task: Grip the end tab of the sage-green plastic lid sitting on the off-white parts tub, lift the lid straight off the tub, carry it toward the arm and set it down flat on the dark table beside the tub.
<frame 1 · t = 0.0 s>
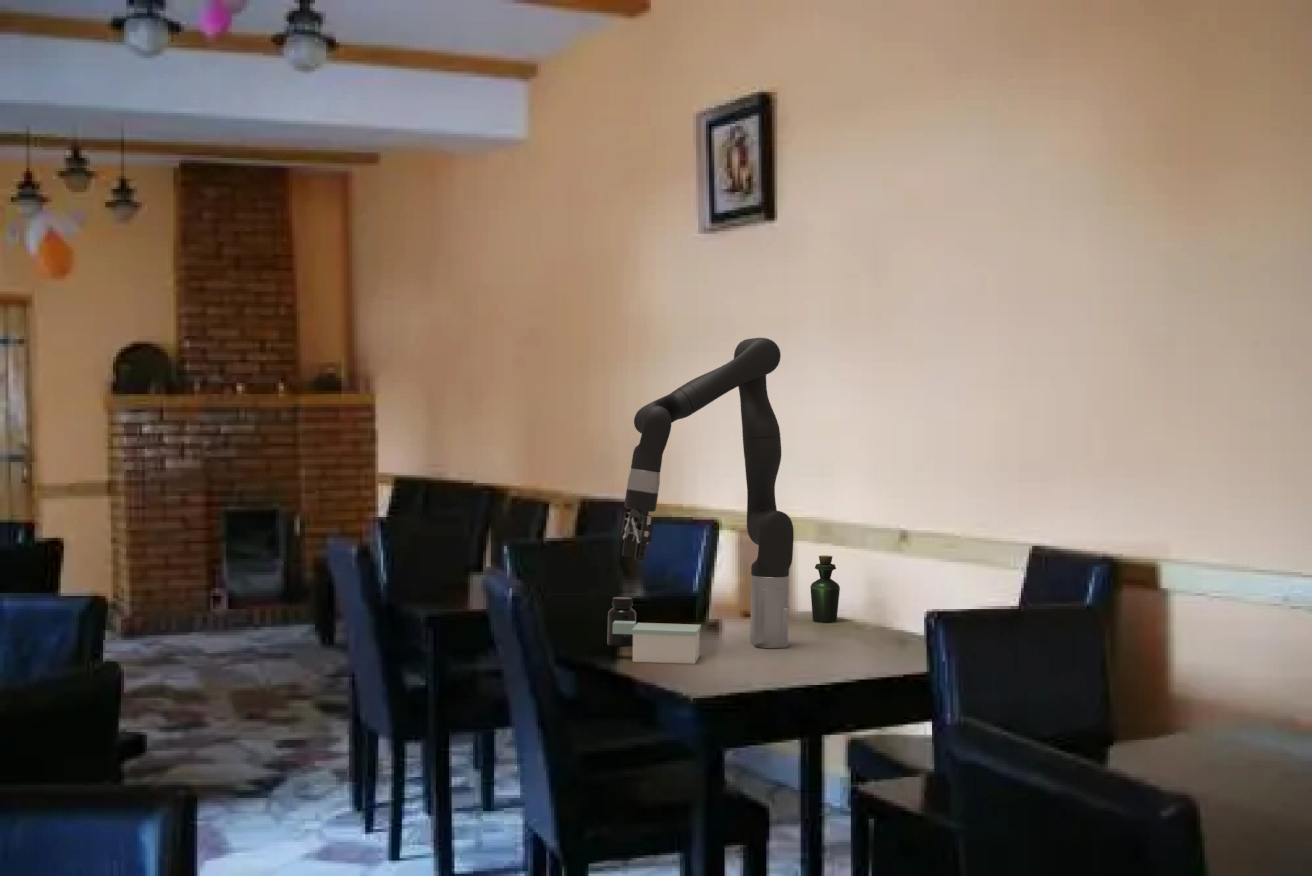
hand: (632, 558, 325), 22 cm above the table, tool pointing down, fingers open, 8 cm apart
part b: (652, 658, 313), point 1 cm above the table, touching tub
part a: (682, 658, 314), point 1 cm above the table, touching tub
potion bottle: (824, 622, 381), on the table
tub: (666, 662, 314), on the table
supplement bottle: (621, 648, 333), on the table
lid: (666, 635, 314), point 6 cm above the table, touching tub
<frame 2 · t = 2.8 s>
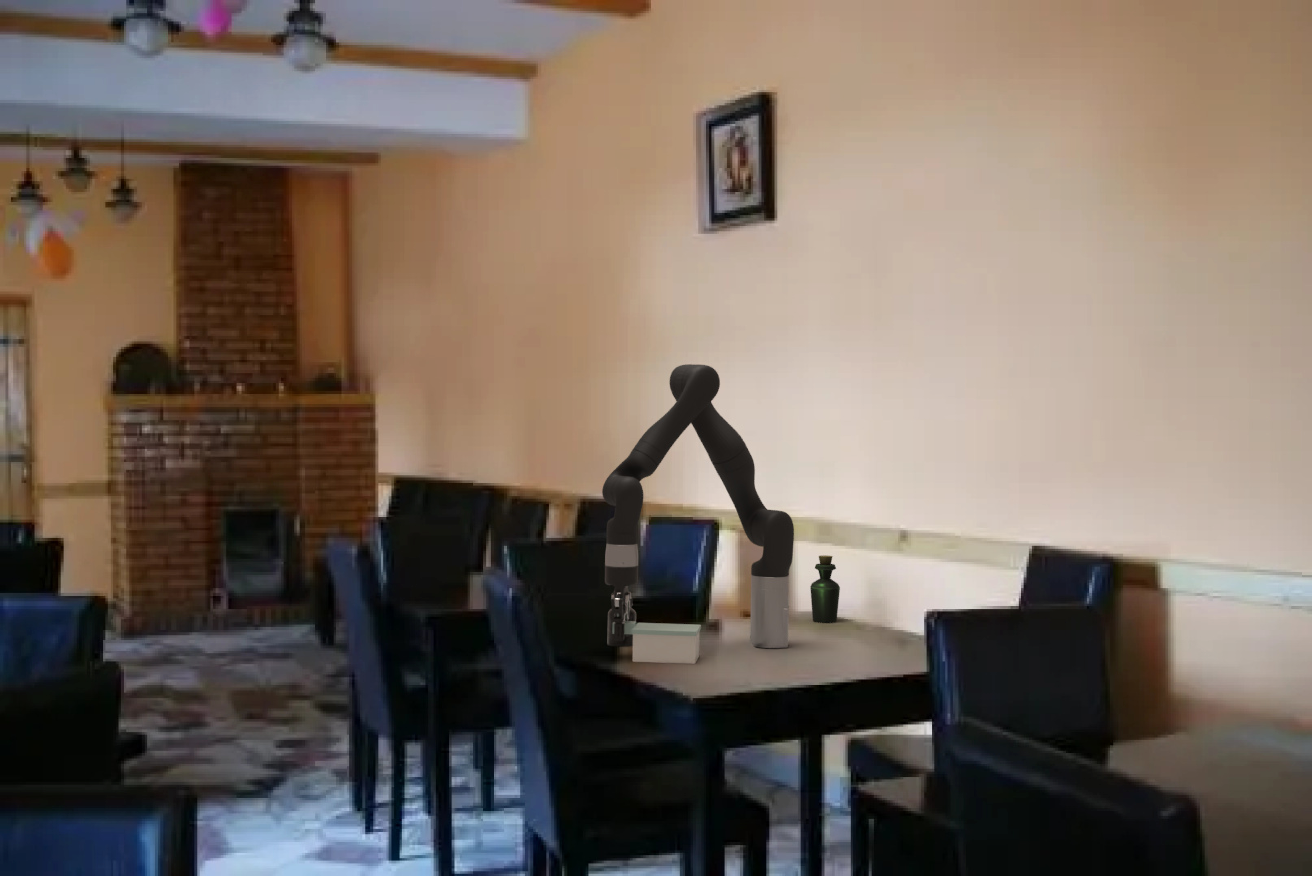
hand: (620, 638, 315), 5 cm above the table, tool pointing down, fingers closed on lid, 4 cm apart
lid: (666, 635, 314), point 6 cm above the table, touching gripper, tub
everything else where it was.
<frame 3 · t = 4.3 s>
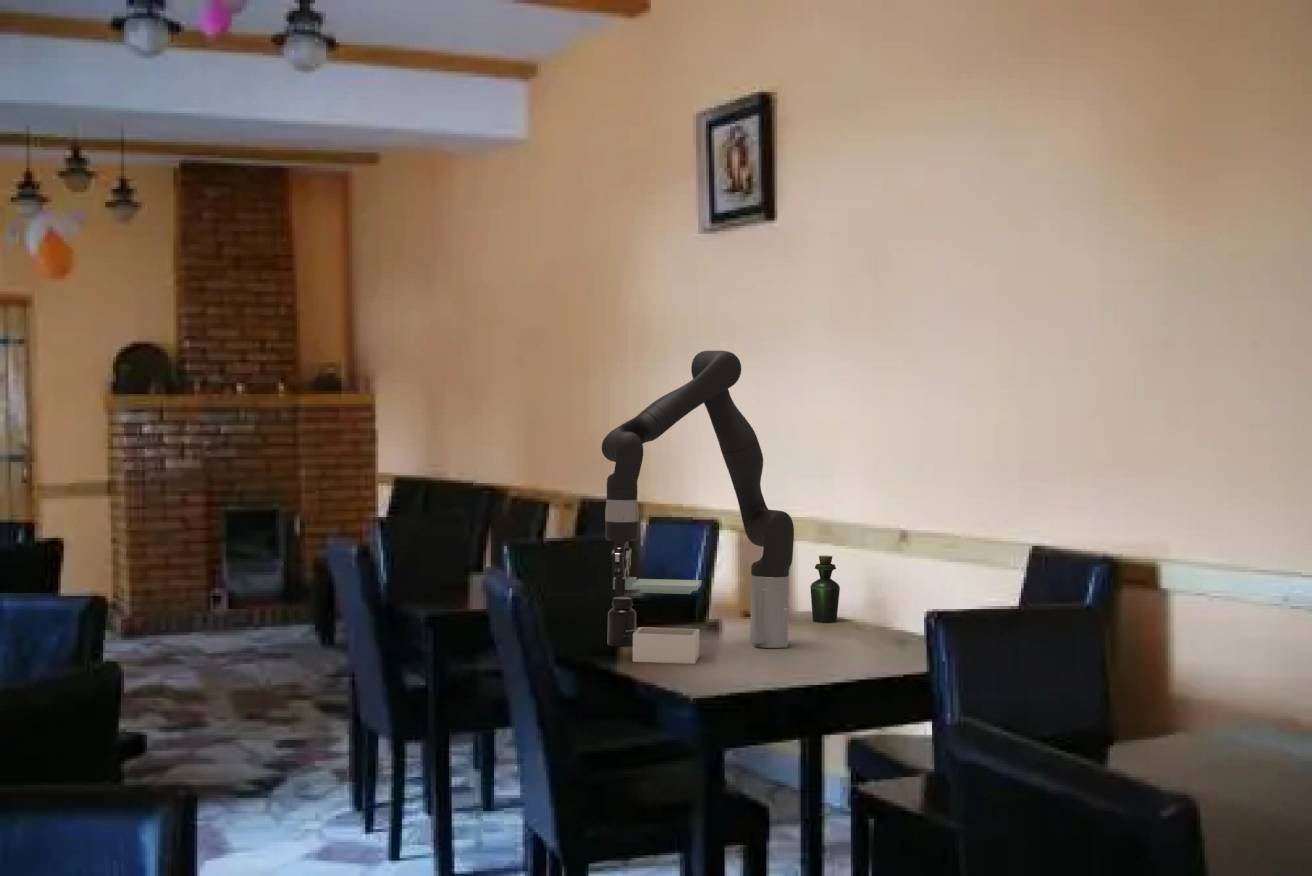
hand: (621, 594, 315), 15 cm above the table, tool pointing down, fingers closed on lid, 4 cm apart
lid: (667, 591, 314), point 16 cm above the table, touching gripper
everything else where it was.
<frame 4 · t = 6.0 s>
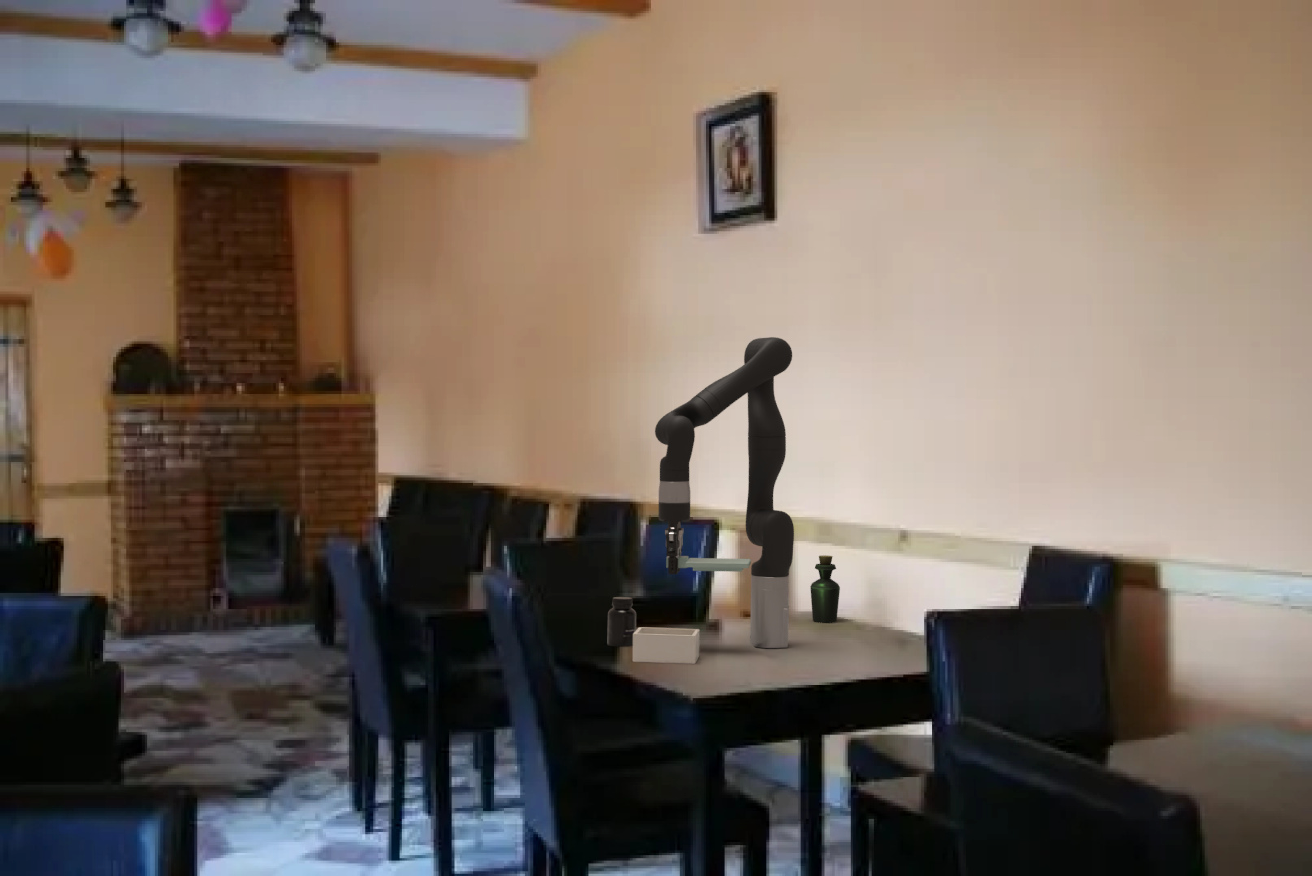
hand: (674, 572, 326), 19 cm above the table, tool pointing down, fingers closed on lid, 4 cm apart
lid: (718, 569, 325), point 20 cm above the table, touching gripper
everything else where it was.
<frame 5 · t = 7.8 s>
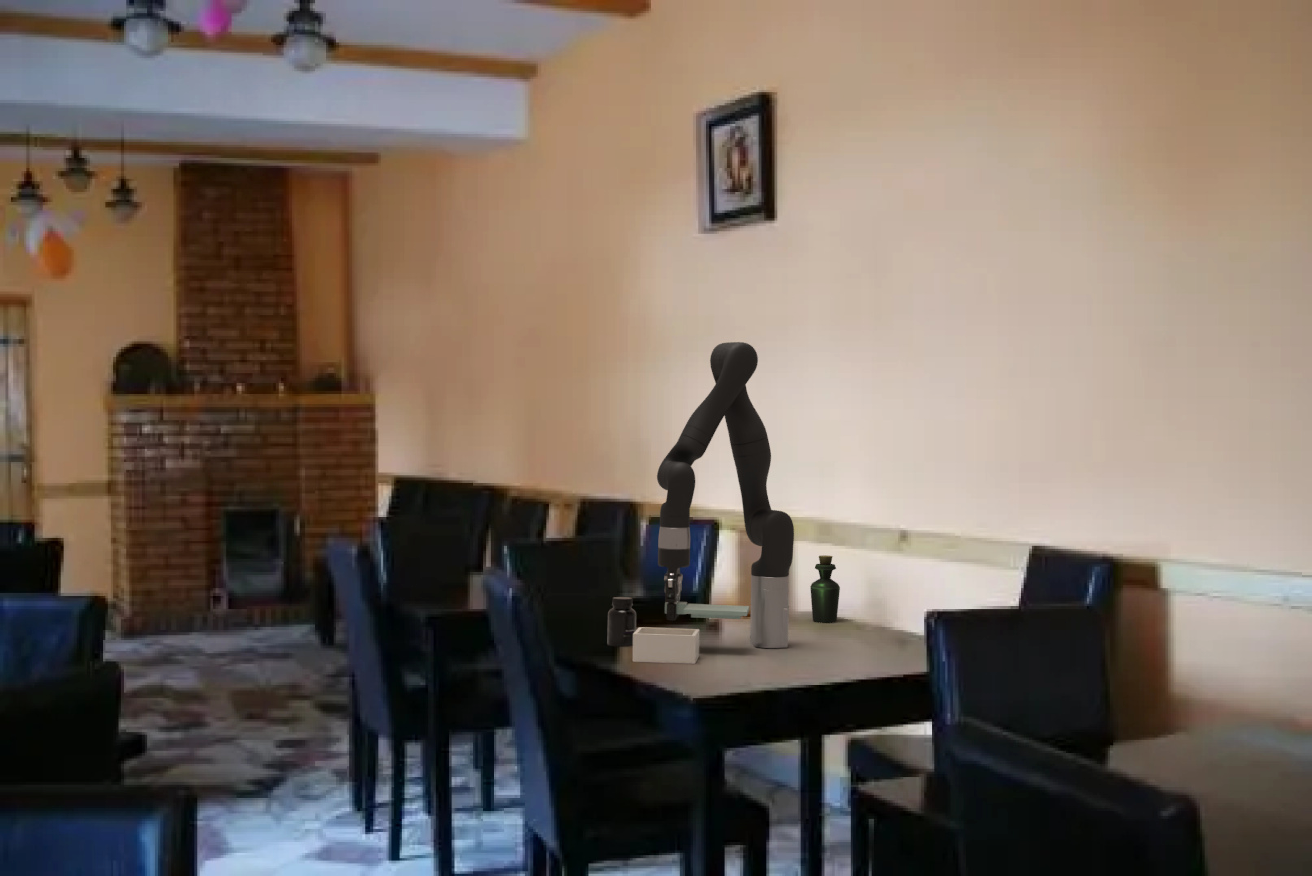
hand: (672, 618, 326), 8 cm above the table, tool pointing down, fingers closed on lid, 4 cm apart
lid: (716, 616, 325), point 9 cm above the table, touching gripper
everything else where it was.
when the fingers open (1 cm above the table, at t = 9.3 s): lid drops 2 cm, on the table.
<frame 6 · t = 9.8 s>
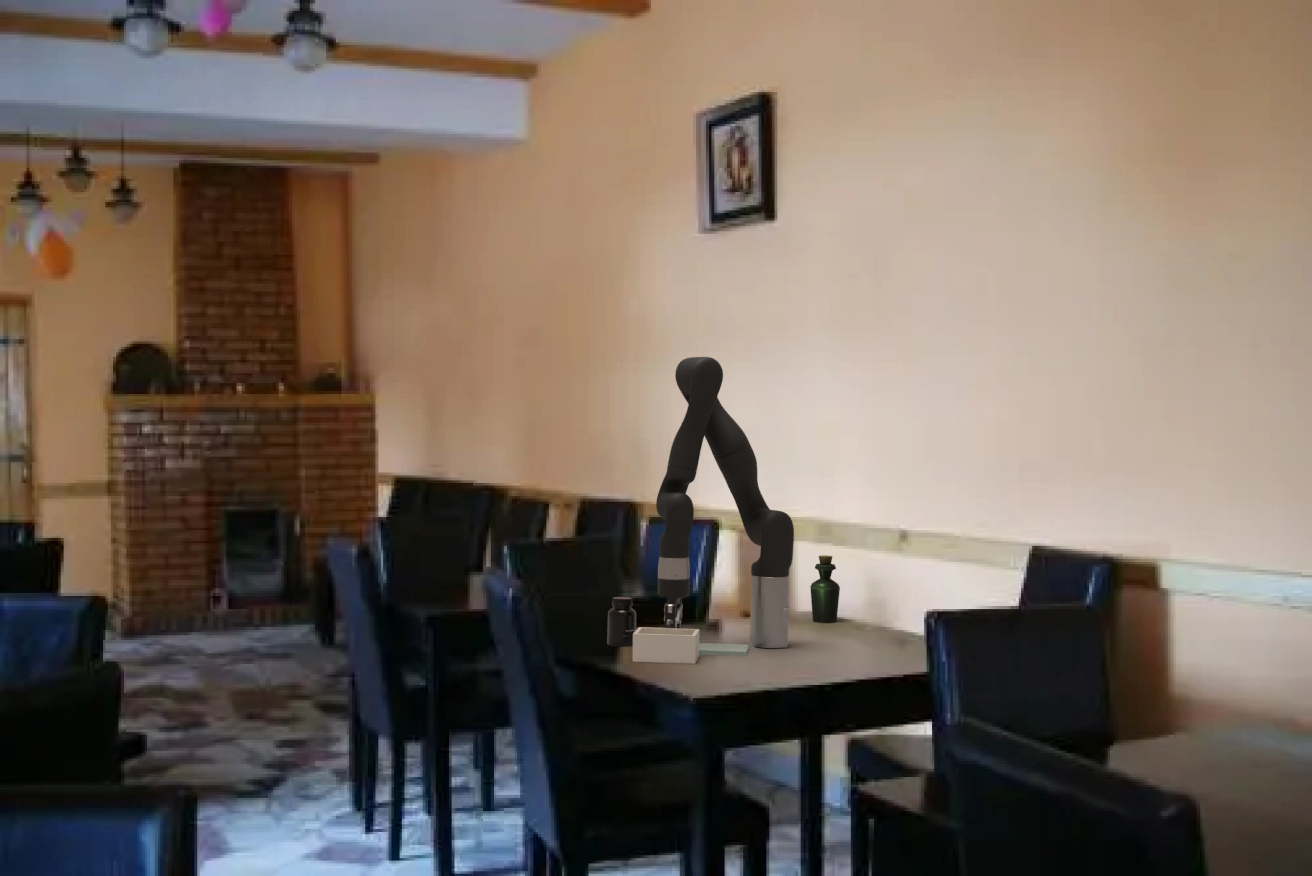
hand: (672, 644, 327), 2 cm above the table, tool pointing down, fingers open, 8 cm apart
lid: (716, 655, 325), on the table
everything else where it was.
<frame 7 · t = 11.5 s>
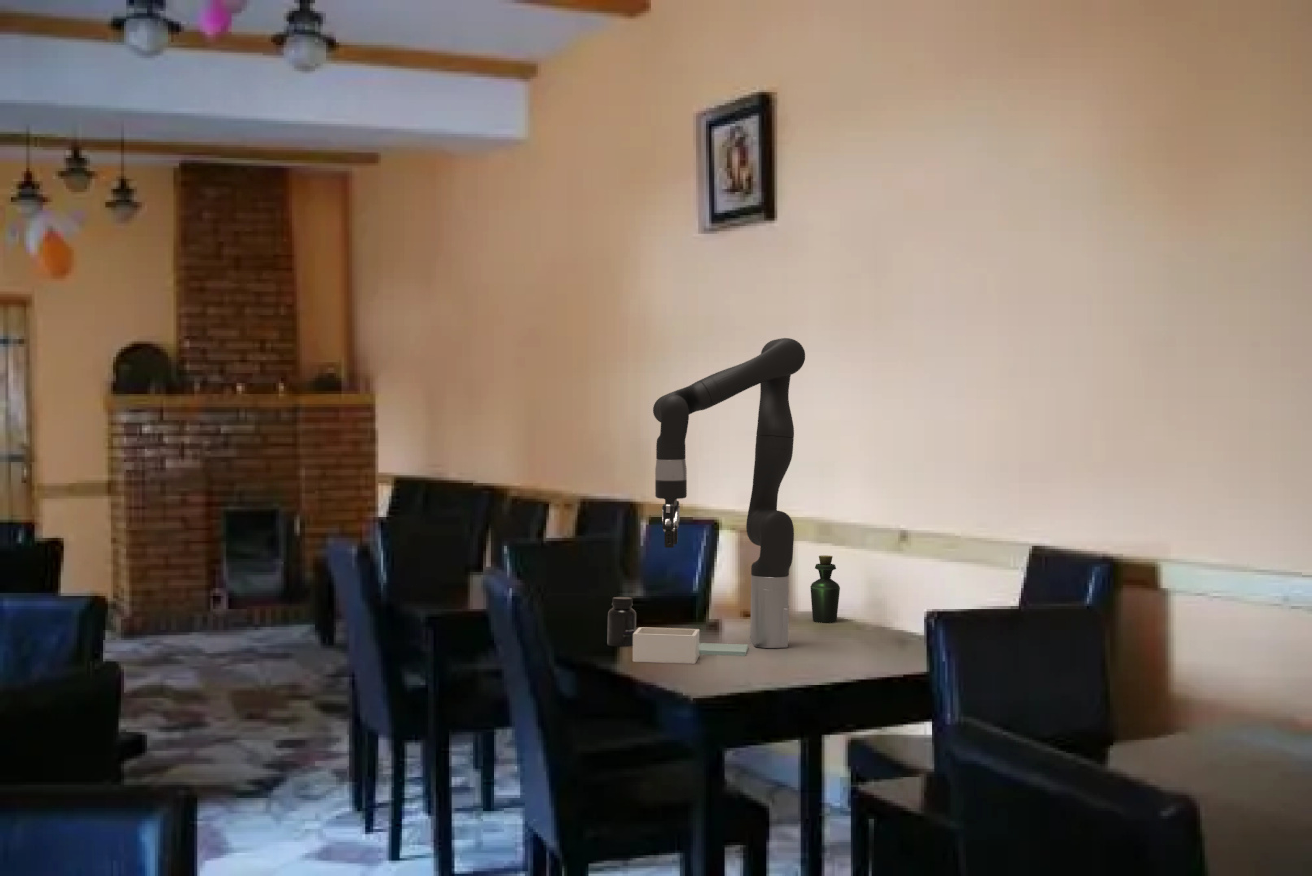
hand: (671, 545, 332), 25 cm above the table, tool pointing down, fingers open, 8 cm apart
nothing on the table moved.
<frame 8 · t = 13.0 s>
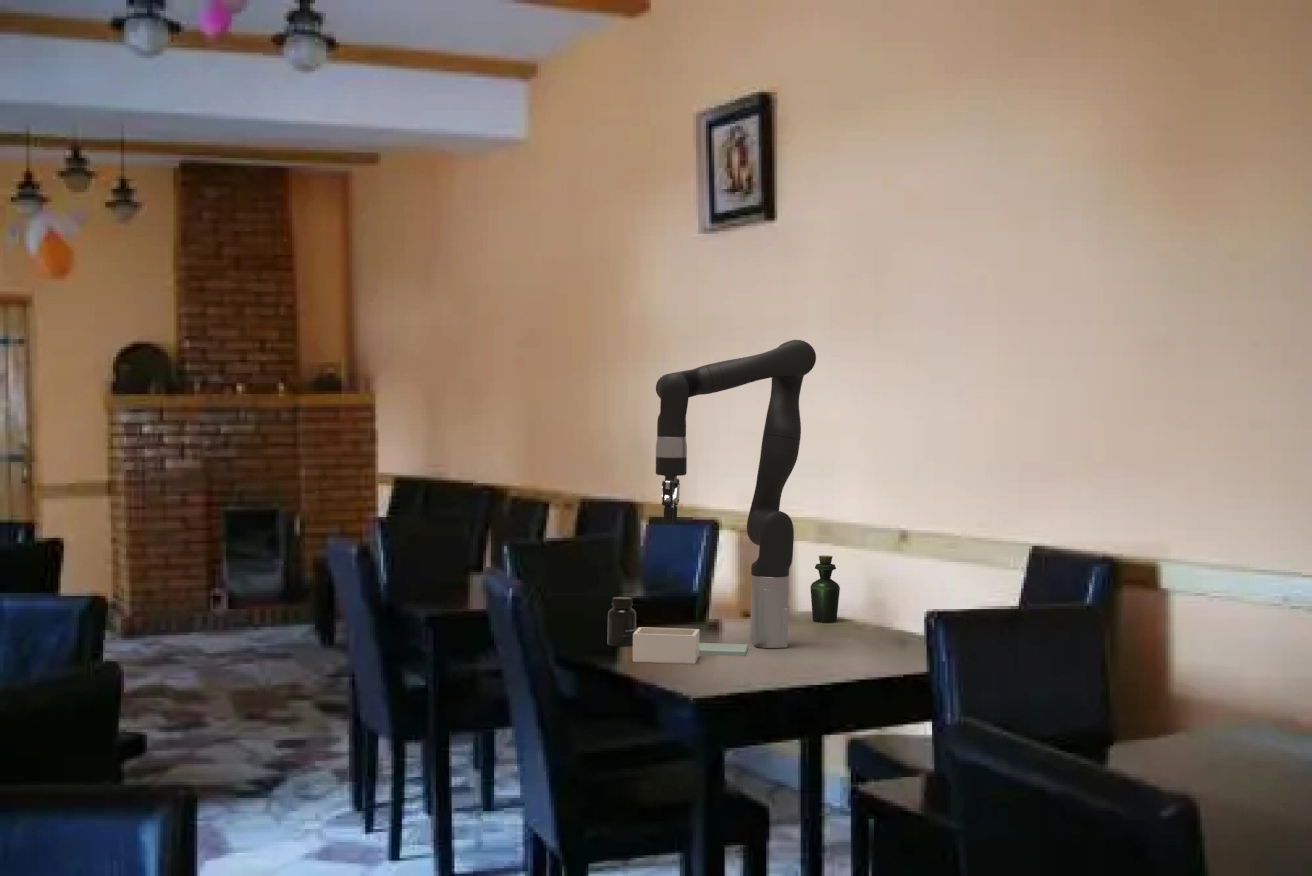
hand: (670, 522, 335), 30 cm above the table, tool pointing down, fingers open, 8 cm apart
nothing on the table moved.
at the end: lid inside the target area (0.4 cm from its centre), on the table; lid touching table; lid tilted 0° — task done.
